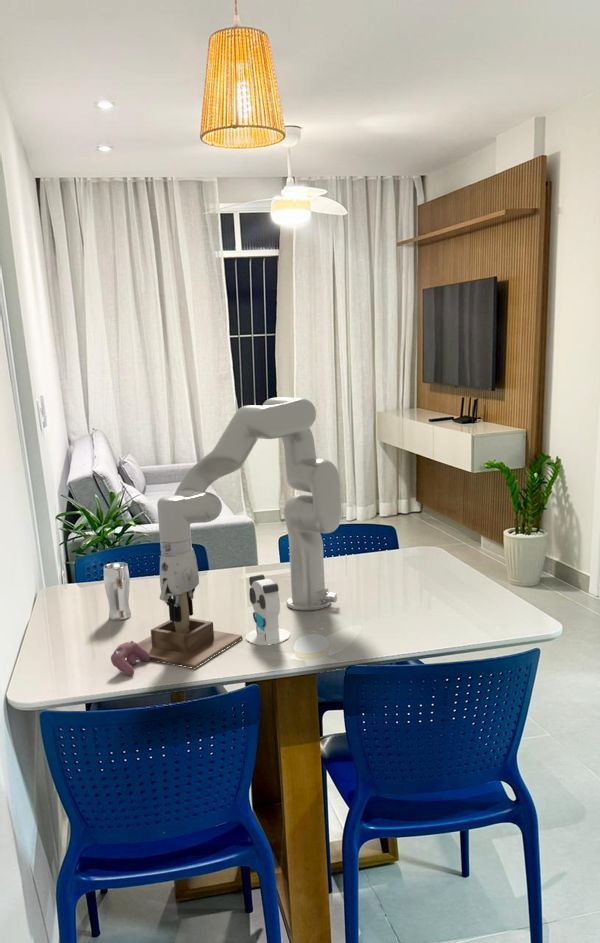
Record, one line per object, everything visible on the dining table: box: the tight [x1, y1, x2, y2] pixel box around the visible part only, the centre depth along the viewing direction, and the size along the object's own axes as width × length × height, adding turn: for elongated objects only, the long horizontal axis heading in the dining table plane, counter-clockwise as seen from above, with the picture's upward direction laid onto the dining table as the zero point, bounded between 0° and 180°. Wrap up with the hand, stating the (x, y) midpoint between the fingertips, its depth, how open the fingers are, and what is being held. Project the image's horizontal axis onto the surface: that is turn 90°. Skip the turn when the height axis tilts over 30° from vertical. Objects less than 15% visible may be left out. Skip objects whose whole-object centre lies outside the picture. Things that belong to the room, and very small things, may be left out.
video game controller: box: [110, 640, 151, 677], centre depth 179 cm, size 10×5×7 cm, turn 165°
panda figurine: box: [245, 574, 291, 646], centre depth 194 cm, size 12×11×15 cm
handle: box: [172, 575, 191, 634], centre depth 189 cm, size 5×6×15 cm
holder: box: [136, 617, 243, 669], centre depth 190 cm, size 22×20×6 cm
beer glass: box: [103, 561, 132, 621], centre depth 214 cm, size 7×7×15 cm
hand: (181, 617), depth 189 cm, fingers closed on handle, 4 cm apart
